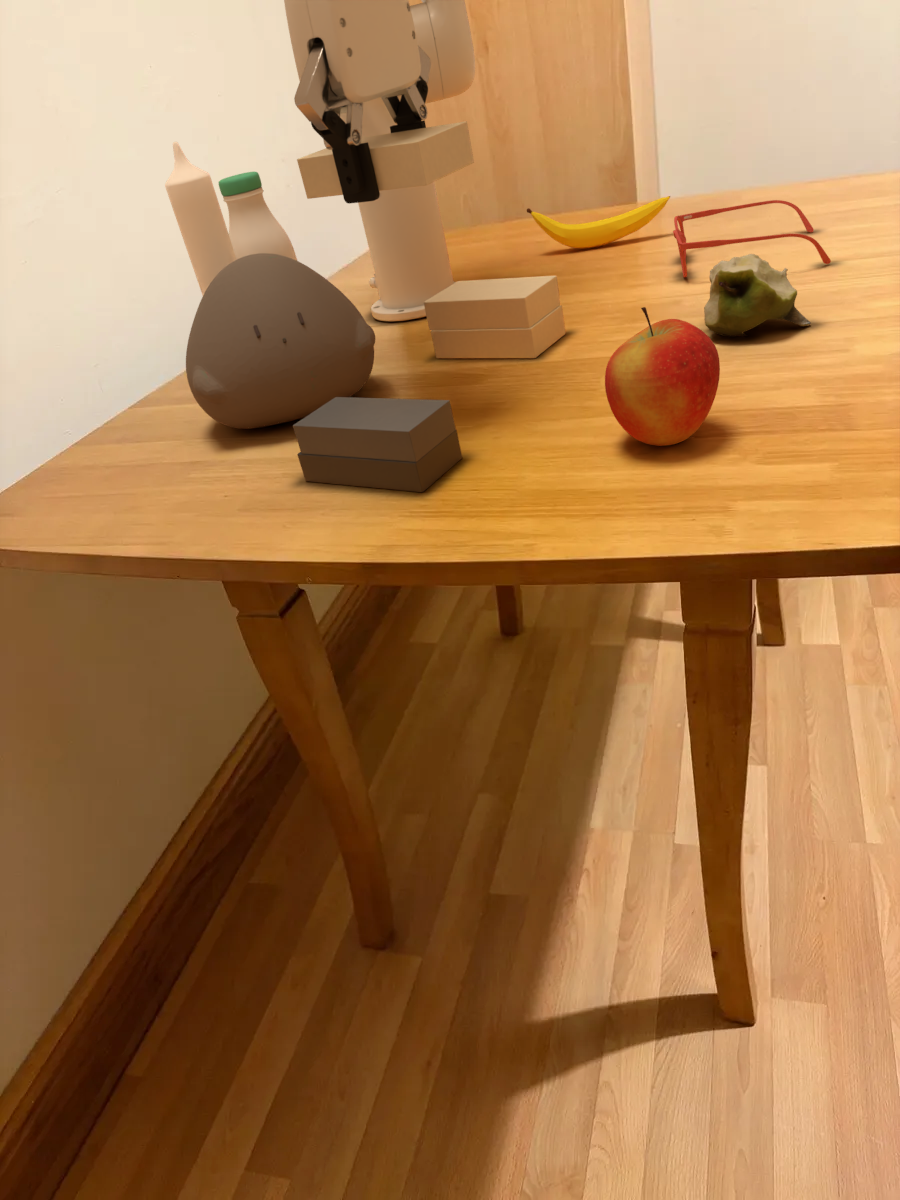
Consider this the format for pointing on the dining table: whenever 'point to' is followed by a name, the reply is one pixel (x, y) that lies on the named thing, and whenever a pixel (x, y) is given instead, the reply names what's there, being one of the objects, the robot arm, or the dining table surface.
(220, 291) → the decorative object
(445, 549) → the dining table surface
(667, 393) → the apple
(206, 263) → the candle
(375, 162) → the cream rectangular block
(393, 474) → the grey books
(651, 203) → the banana
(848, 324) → the dining table surface
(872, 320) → the dining table surface
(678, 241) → the red eyeglasses
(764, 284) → the fruit
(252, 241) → the milk bottle
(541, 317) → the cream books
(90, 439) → the dining table surface
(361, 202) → the robot arm
